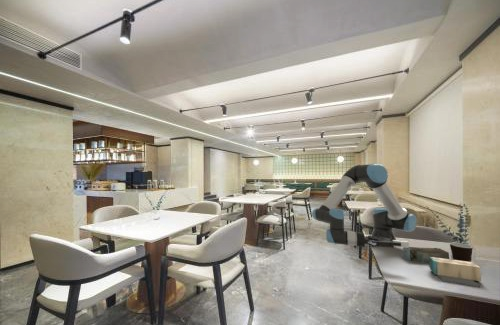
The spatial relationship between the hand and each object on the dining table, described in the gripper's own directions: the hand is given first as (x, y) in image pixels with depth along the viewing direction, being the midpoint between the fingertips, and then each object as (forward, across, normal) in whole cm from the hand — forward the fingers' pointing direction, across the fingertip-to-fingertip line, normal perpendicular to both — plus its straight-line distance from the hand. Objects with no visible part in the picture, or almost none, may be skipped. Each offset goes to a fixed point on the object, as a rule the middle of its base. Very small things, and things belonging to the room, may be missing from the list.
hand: (408, 244), depth 105 cm
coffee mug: (+28, -20, -12) cm, 37 cm away
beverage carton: (+12, -18, -13) cm, 25 cm away
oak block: (+9, 0, -9) cm, 13 cm away
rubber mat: (+16, 0, -12) cm, 20 cm away
